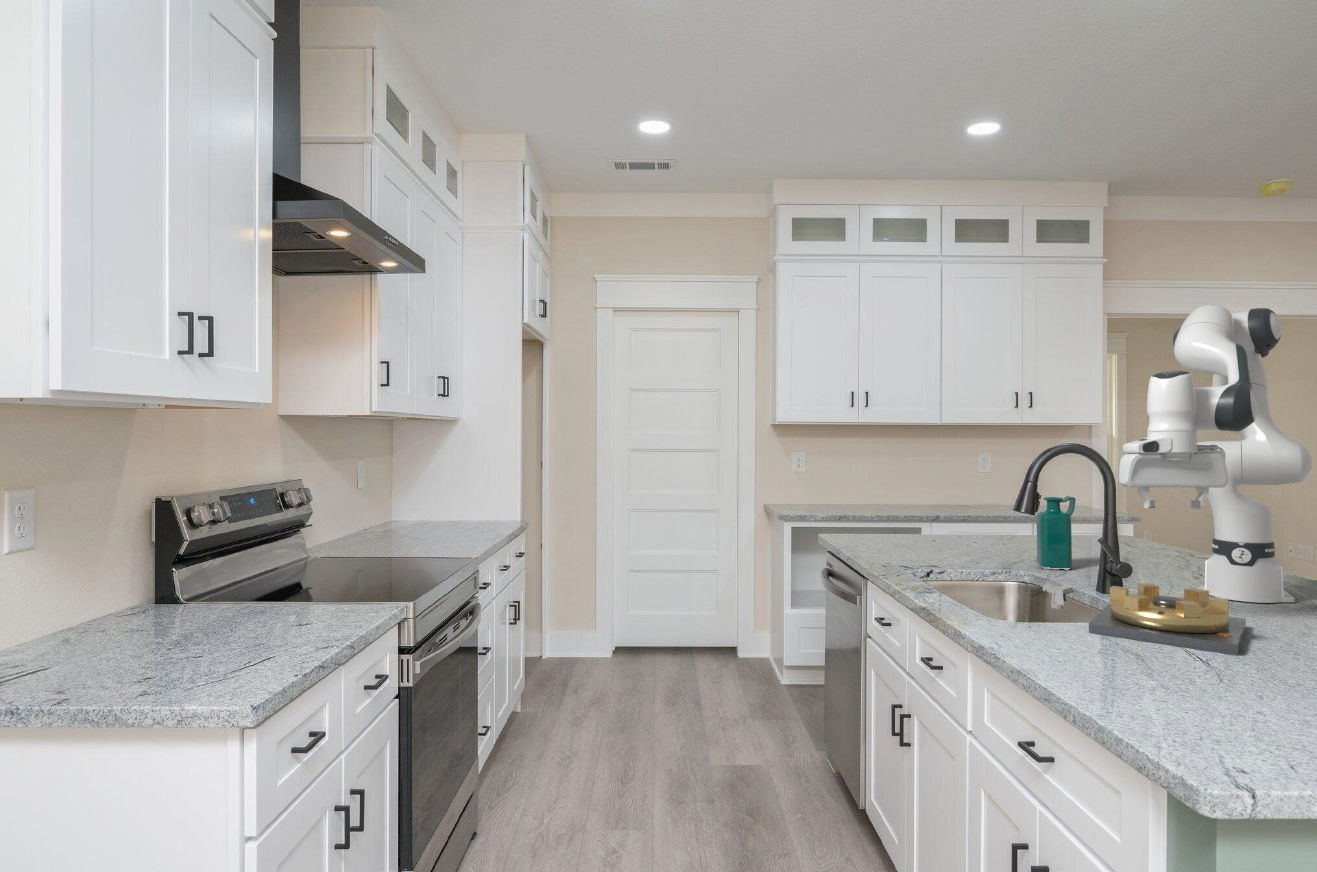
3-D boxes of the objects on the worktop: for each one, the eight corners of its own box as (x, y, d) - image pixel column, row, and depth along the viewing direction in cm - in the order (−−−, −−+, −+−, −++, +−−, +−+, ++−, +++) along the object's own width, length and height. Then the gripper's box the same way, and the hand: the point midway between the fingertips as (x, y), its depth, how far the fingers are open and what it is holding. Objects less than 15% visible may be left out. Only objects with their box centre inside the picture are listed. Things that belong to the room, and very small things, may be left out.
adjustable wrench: (1064, 611, 166) (1064, 604, 166) (1033, 608, 169) (1033, 601, 169) (1072, 590, 186) (1072, 584, 186) (1045, 588, 190) (1044, 581, 190)
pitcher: (1042, 569, 214) (1040, 497, 214) (1036, 564, 222) (1034, 495, 222) (1078, 571, 211) (1077, 497, 211) (1071, 566, 219) (1069, 495, 219)
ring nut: (1120, 603, 161) (1119, 579, 161) (1232, 617, 147) (1232, 591, 148) (1101, 621, 146) (1101, 594, 146) (1224, 638, 133) (1224, 609, 133)
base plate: (1111, 610, 164) (1111, 601, 164) (1245, 628, 148) (1245, 617, 148) (1088, 632, 146) (1088, 622, 146) (1238, 655, 130) (1237, 643, 130)
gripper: (1215, 444, 155) (1216, 507, 155) (1114, 445, 158) (1115, 506, 158) (1234, 444, 149) (1235, 510, 148) (1129, 445, 152) (1130, 509, 151)
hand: (1173, 508), depth 153 cm, fingers open, 8 cm apart
